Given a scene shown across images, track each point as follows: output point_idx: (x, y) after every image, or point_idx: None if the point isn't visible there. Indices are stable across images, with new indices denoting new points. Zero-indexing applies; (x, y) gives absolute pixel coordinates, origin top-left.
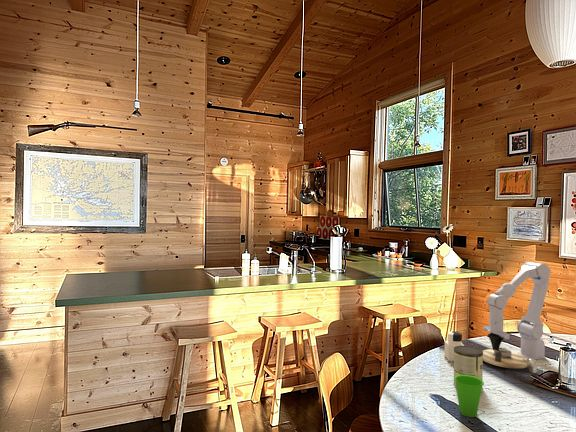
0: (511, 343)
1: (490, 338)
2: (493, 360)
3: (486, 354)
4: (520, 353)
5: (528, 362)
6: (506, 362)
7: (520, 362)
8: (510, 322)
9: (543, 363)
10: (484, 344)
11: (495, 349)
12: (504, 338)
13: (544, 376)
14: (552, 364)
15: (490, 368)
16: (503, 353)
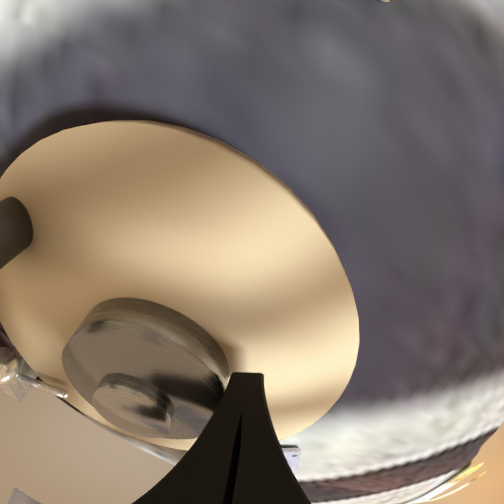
0: (411, 464)
1: (264, 500)
2: (17, 183)
3: (193, 233)
4: (289, 459)
5: (4, 363)
6: (3, 267)
7: (36, 353)
8: (485, 472)
9: (164, 447)
10: (480, 391)
11: (181, 378)
12: (26, 499)
13: (9, 342)
14: (156, 455)
15: (34, 122)
16: (62, 352)
